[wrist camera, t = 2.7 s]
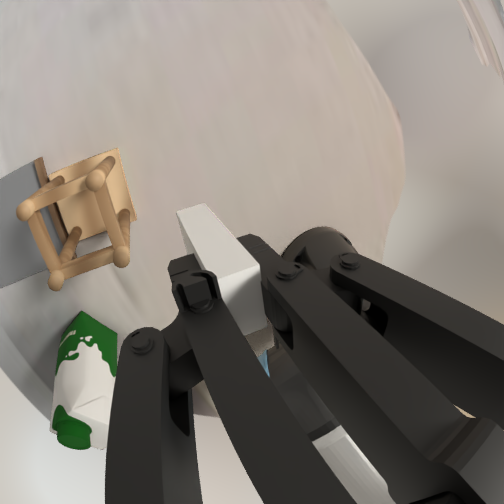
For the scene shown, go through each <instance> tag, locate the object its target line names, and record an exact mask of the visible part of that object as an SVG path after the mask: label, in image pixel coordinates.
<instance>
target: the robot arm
mask: <svg viewBox="0 0 504 504" xmlns="http://www.w3.org/2000/svg"><path fill="white" fill-rule="evenodd" d="M176 213H177V217H178V221H179V225H180V228H181V232H182V236H183V239H184V243H185V247H186V250H187V254H188V255H186V256H183V257H180V258H177V259H174V260H171V261H170V263H169V266H168V272H169V275H170V279H171V282H172V293H173V296H174V299H175V301H176V304H177V306H178V309H179V313H178V315H177V317H176V319H175V320H174V321H173V322H172V323H171V324H170V325H169V326H167V327H166V328H164V329H163V330H161V331H159V330H158V329H155V328H153V327H144V328H141V329H137V330H135V331H134V332H132V333H130V334H129V335H128V336H127V337H126V339H125V340H124V342H123V344H122V346H121V351H120V356H119V361H118V366H117V372H116V378H115V384H114V390H113V397H112V404H111V411H110V420H109V429H108V439H107V453H106V471H105V472H106V473H105V504H203V501H202V495H201V487H200V479H199V471H198V463H197V452H196V442H195V430H194V416H193V401H192V389H191V388H192V387H194V386H195V385H196V384H198V383H199V382H201V381H202V380H203V379H204V380H205V383H206V385H207V388H208V390H209V393H210V395H211V397H212V400H213V402H214V404H215V407H216V409H217V411H218V414H219V416H220V418H221V420H222V423H223V425H224V427H225V429H226V431H227V434H228V436H229V437H230V440H231V442H232V444H233V446H234V448H235V450H236V452H237V454H238V456H239V458H240V460H241V462H242V464H243V466H244V468H245V470H246V472H247V474H248V476H249V478H250V479H251V481H252V483H253V485H254V487H255V489H256V490H257V492H258V494H259V496H260V497H261V499H262V501H263V503H264V504H504V431H503V430H504V325H503V324H501V323H499V322H498V321H496V320H494V319H492V318H490V317H488V316H486V315H484V314H482V313H481V312H479V311H477V310H475V309H473V308H471V307H469V306H467V305H465V304H463V303H461V302H459V301H457V300H455V299H453V298H451V297H449V296H447V295H445V294H443V293H441V292H439V291H437V290H435V289H433V288H431V287H429V286H427V285H425V284H423V283H421V282H418V281H417V280H414V279H412V278H410V277H408V276H406V275H404V274H401V273H399V272H397V271H395V270H393V269H391V268H389V267H386V266H384V265H382V264H380V263H378V262H375V261H373V260H371V259H369V258H367V257H364V256H362V255H360V254H358V252H357V251H356V250H355V248H354V247H353V246H352V244H351V242H350V241H349V240H348V238H347V237H346V236H345V235H343V234H342V233H340V232H339V231H337V230H335V229H333V228H330V227H317V228H313V229H311V230H309V231H307V232H305V233H303V234H302V235H300V236H299V237H298V238H297V239H295V240H294V241H293V242H292V244H291V245H290V246H289V247H288V248H287V250H286V251H285V253H284V255H283V257H281V256H280V255H279V254H277V253H276V252H275V251H274V250H273V249H272V248H270V246H269V245H268V244H266V242H264V241H263V240H262V239H261V238H260V237H258V236H255V235H252V234H248V235H245V236H242V237H238V238H235V237H234V235H233V234H232V233H231V232H230V231H229V230H228V229H227V228H226V227H225V225H224V224H223V223H222V222H221V221H220V220H219V219H218V218H217V216H216V215H215V214H214V213H213V212H212V211H211V210H210V209H209V208H208V206H207V205H206V204H205V203H202V204H199V205H196V206H192V207H189V208H186V209H182V210H179V211H176ZM266 316H267V317H268V319H269V320H270V321H271V323H272V325H273V334H274V343H275V346H273V347H272V348H270V349H269V350H267V349H266V350H265V351H264V352H263V354H261V355H260V356H259V357H256V355H255V353H254V352H253V350H252V348H251V347H250V345H249V343H248V342H247V340H246V338H245V337H244V336H246V335H248V334H251V333H253V332H256V331H258V330H261V329H263V328H265V327H268V324H267V317H266ZM453 404H454V405H455V406H457V407H459V408H461V409H462V410H464V411H466V412H467V413H469V414H471V415H472V416H474V417H476V418H469V417H466V416H465V415H463V414H462V413H461V412H460V411H459V410H458V409H457V408H456V407H455V406H454V405H453Z"/></svg>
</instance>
